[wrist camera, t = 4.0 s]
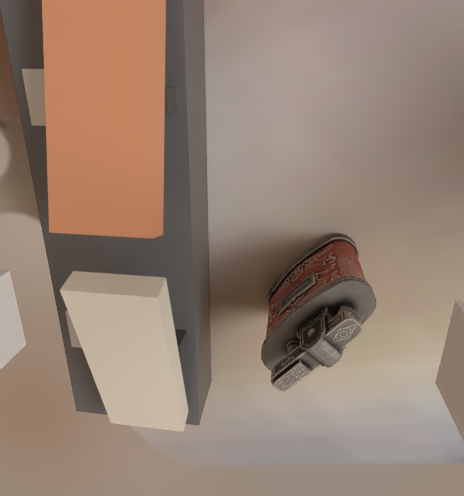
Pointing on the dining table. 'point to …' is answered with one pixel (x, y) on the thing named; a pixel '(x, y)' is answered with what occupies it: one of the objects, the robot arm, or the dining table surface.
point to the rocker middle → (105, 116)
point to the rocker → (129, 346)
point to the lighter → (315, 310)
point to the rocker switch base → (175, 198)
